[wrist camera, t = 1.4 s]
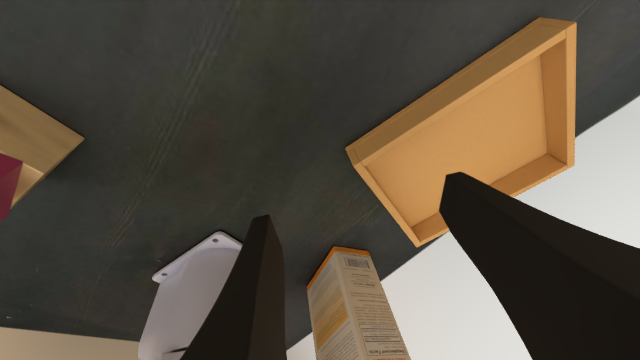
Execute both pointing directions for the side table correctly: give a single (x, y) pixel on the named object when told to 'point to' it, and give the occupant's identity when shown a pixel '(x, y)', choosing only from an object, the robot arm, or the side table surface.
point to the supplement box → (352, 310)
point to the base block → (32, 140)
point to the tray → (478, 128)
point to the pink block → (8, 182)
